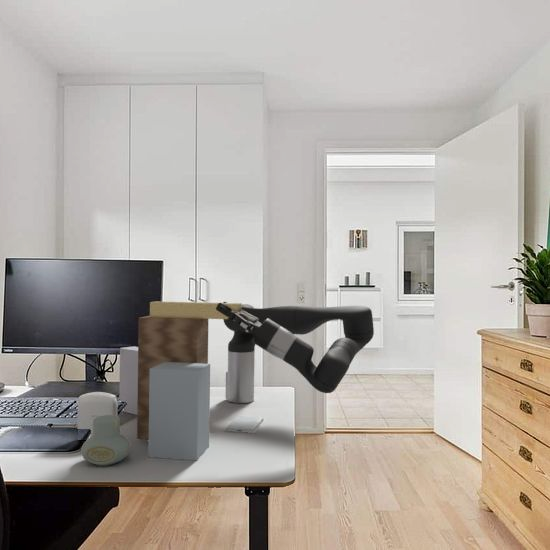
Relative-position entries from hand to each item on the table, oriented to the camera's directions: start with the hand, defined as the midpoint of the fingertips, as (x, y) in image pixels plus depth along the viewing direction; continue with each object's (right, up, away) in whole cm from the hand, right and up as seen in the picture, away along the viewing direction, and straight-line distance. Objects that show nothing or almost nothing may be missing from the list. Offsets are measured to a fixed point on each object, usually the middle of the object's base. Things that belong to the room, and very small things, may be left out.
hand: (220, 305), depth 138 cm
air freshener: (-25, -35, -17) cm, 47 cm away
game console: (-23, -35, +21) cm, 47 cm away
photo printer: (-32, -35, -2) cm, 48 cm away
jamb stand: (-13, -35, +2) cm, 38 cm away
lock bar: (-7, -3, +1) cm, 8 cm away
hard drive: (+6, -36, +13) cm, 39 cm away
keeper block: (-9, -35, -10) cm, 38 cm away
